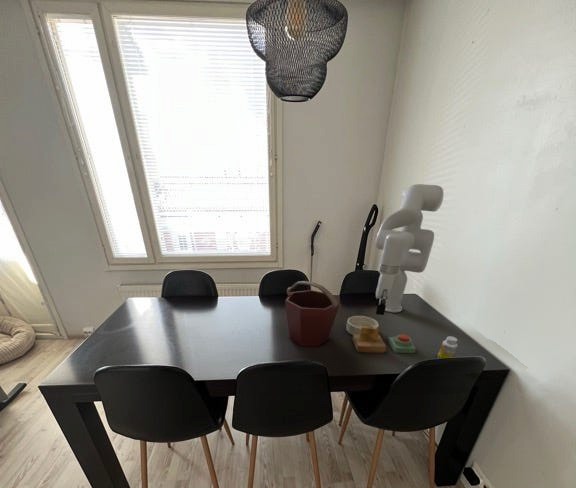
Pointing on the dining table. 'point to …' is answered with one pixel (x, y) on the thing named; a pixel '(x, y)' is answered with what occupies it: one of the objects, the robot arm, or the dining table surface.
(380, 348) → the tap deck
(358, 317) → the basin
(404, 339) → the button
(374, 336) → the tap lever
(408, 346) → the button block
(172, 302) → the dining table surface
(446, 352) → the supplement bottle
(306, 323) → the bucket
